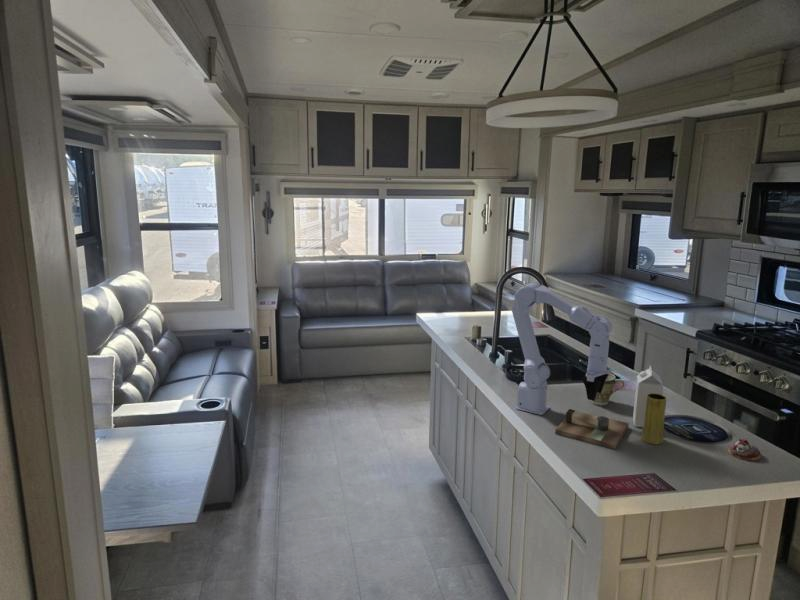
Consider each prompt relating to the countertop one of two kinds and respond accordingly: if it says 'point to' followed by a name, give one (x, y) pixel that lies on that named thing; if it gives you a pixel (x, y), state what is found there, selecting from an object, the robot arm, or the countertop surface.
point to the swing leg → (587, 420)
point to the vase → (654, 419)
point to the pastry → (745, 451)
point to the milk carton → (645, 393)
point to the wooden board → (594, 433)
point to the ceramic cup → (606, 390)
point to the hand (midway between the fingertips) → (594, 395)
